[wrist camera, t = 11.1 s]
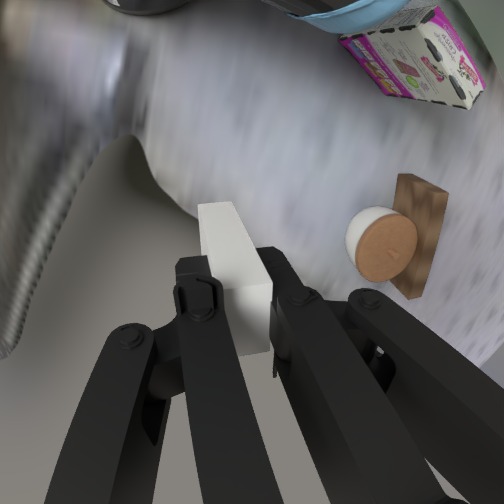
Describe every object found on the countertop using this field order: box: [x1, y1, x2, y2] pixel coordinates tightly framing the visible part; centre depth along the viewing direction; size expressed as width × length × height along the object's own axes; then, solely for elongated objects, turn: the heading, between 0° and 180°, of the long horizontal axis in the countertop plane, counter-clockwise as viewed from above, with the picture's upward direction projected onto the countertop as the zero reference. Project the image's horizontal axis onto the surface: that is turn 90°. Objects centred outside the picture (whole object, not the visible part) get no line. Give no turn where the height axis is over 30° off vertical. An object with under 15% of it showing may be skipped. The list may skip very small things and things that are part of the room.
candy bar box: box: [338, 5, 486, 110], centre depth 29 cm, size 11×5×16 cm, turn 49°
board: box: [389, 174, 449, 300], centre depth 47 cm, size 18×3×9 cm, turn 0°
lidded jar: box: [345, 206, 418, 282], centre depth 46 cm, size 11×11×9 cm
